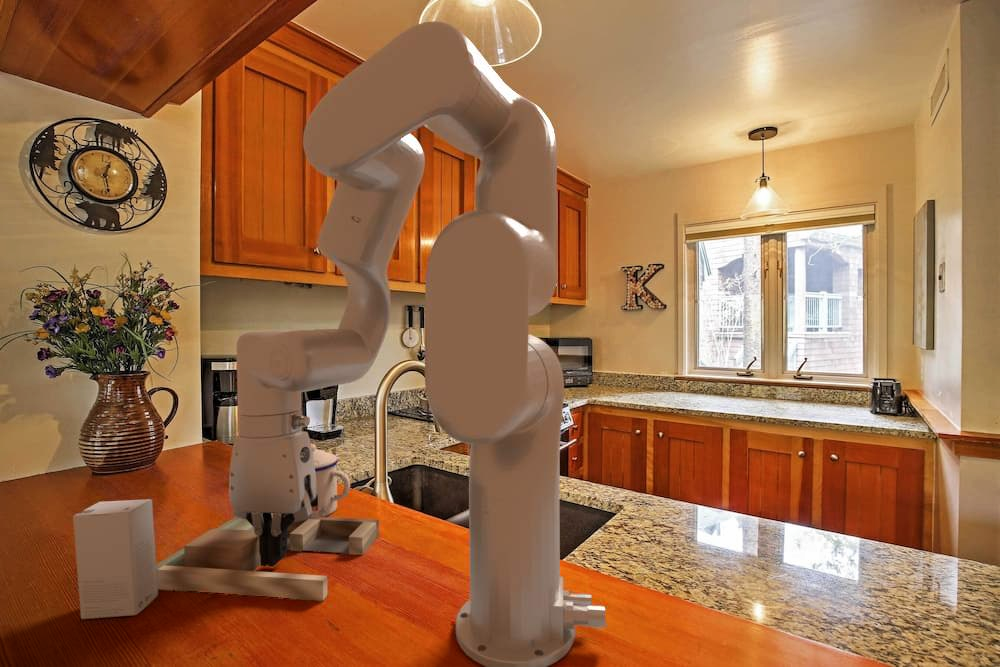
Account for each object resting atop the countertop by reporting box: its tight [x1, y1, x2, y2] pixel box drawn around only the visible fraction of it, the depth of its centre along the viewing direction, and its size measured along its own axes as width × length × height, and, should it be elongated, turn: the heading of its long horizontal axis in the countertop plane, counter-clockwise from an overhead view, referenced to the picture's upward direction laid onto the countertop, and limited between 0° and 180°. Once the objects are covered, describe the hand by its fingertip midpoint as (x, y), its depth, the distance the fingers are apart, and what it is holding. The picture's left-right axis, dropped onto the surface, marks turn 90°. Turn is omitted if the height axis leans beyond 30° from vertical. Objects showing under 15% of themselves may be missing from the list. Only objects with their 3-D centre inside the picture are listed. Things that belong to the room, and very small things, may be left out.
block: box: [183, 528, 261, 571], centre depth 62 cm, size 8×5×4 cm, turn 84°
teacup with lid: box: [310, 443, 351, 517], centre depth 81 cm, size 12×9×12 cm
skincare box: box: [72, 498, 159, 620], centre depth 54 cm, size 6×4×12 cm
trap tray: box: [156, 516, 380, 602], centre depth 65 cm, size 23×17×2 cm
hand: (273, 560), depth 62 cm, fingers closed
